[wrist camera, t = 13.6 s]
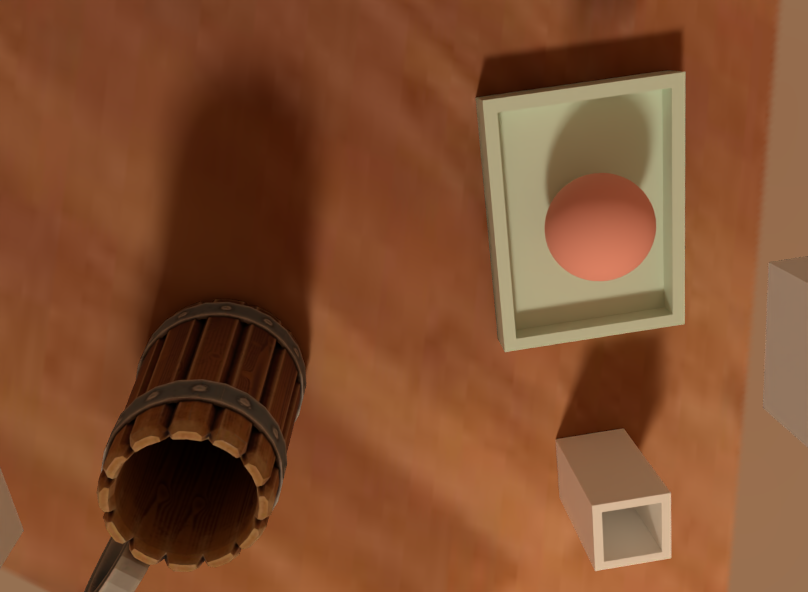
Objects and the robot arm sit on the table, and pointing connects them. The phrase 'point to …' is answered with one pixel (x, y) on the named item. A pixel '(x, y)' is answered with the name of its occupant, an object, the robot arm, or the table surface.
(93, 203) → the table surface
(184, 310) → the mug
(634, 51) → the table surface
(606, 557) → the hollow square tube
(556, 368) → the table surface
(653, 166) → the tray
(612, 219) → the ball
